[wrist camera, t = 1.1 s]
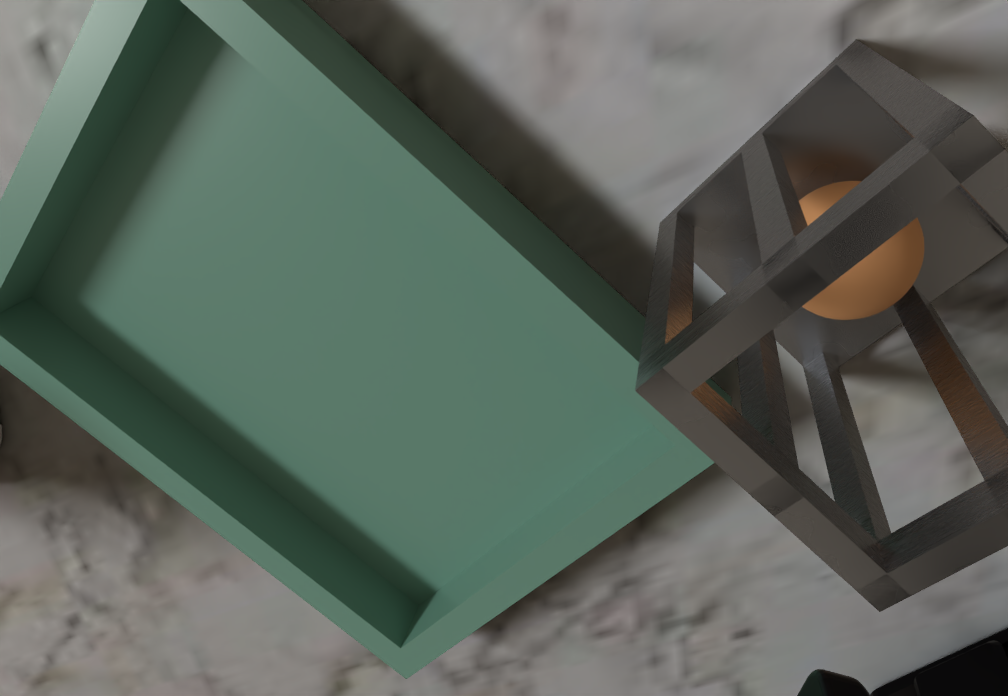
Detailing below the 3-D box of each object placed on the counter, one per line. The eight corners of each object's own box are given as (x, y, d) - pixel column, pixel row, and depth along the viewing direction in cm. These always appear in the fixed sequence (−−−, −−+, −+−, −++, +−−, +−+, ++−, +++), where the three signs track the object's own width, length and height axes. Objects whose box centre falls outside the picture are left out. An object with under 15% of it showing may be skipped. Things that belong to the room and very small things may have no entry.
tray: (730, 397, 21) (733, 448, 19) (429, 622, 28) (406, 679, 26) (204, -91, 19) (138, -94, 16) (8, 288, 25) (-57, 320, 23)
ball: (937, 228, 18) (974, 279, 15) (827, 310, 19) (843, 369, 17) (848, 136, 17) (871, 173, 15) (742, 227, 19) (746, 275, 16)
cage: (1026, 221, 18) (1254, 418, 10) (816, 371, 21) (879, 611, 13) (856, 38, 17) (973, 115, 10) (660, 222, 20) (634, 390, 12)
